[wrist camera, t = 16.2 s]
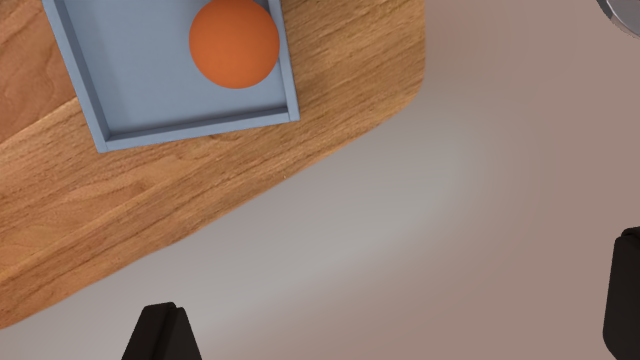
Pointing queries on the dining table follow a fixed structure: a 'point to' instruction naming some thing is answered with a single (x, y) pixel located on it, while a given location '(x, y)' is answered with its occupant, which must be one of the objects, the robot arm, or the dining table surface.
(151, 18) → the tray
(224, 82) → the ball
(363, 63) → the dining table surface
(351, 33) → the dining table surface
